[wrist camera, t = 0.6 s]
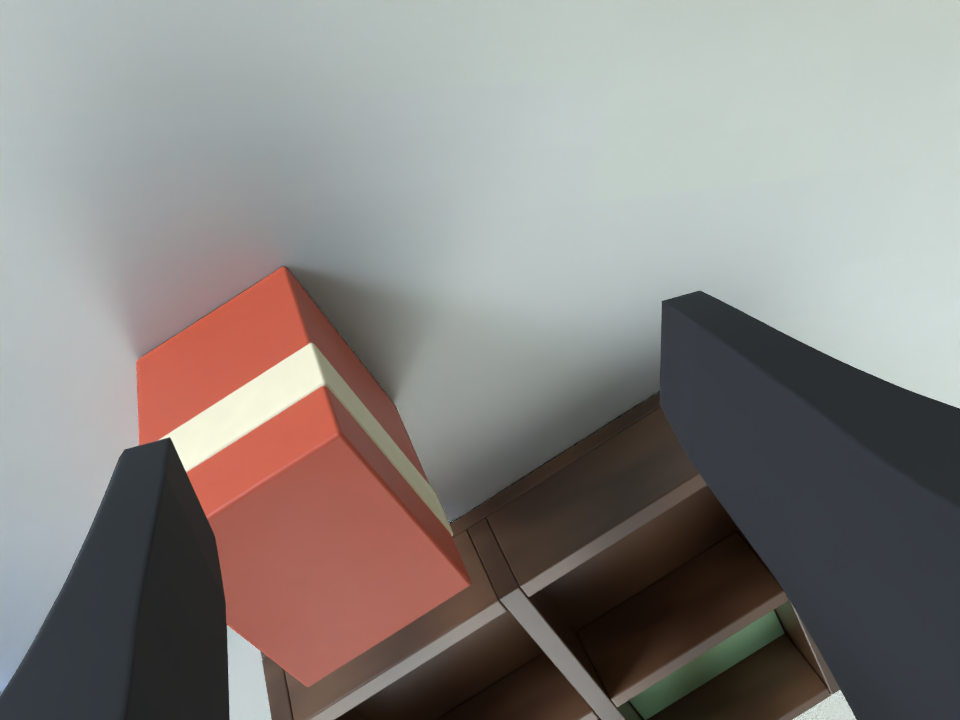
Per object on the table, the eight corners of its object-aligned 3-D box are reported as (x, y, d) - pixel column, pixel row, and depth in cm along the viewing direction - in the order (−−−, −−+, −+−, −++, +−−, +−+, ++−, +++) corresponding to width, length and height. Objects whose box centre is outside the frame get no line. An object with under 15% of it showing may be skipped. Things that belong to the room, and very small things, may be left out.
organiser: (476, 816, 39) (504, 899, 36) (258, 644, 29) (274, 740, 26) (792, 618, 38) (846, 686, 36) (683, 375, 28) (746, 443, 26)
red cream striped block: (265, 490, 26) (307, 692, 20) (131, 359, 22) (136, 560, 17) (398, 406, 25) (476, 585, 20) (285, 260, 22) (342, 429, 16)
